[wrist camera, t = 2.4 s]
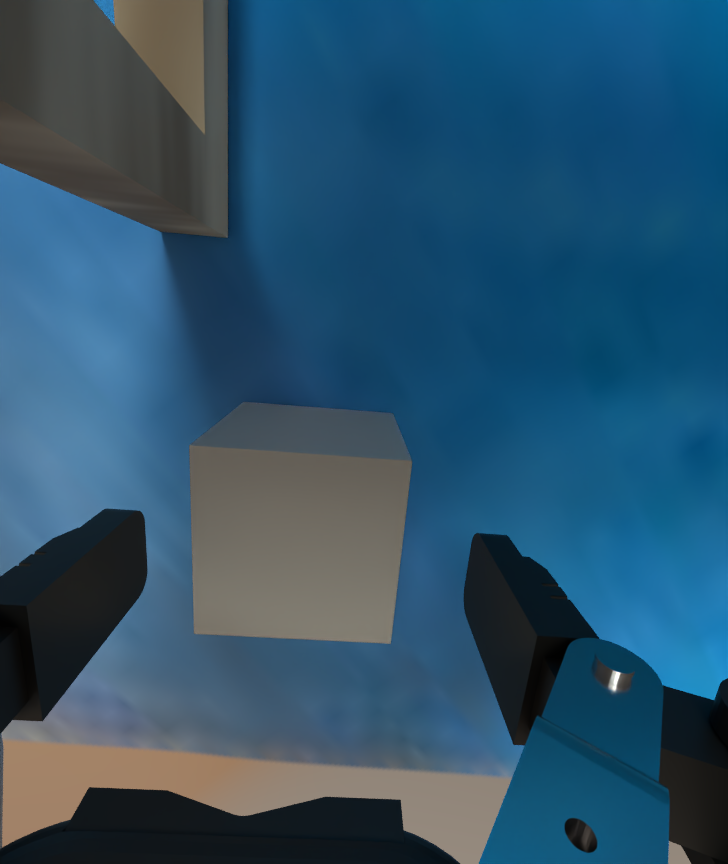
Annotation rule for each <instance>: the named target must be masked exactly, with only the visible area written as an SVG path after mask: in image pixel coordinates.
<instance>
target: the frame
mask: <svg viewBox="0 0 728 864" xmlns="http://www.w3.org/2000/svg"><path fill="white" fill-rule="evenodd" d="M113 1H114V18H115V26H114V25H113V23H112V22H111V21H110V20H109V19H108V17H107V16H106V15H105V14H104V13H103V11H102V10H101V9H100V8H99V7H98V5H97V4H96V3H95V2H94V0H0V163H1V164H4V165H6V166H8V167H11V168H13V169H15V170H18V171H20V172H22V173H25V174H27V175H29V176H32V177H34V178H36V179H39V180H41V181H43V182H46V183H48V184H50V185H53V186H55V187H57V188H60V189H62V190H64V191H67V192H69V193H71V194H74V195H76V196H78V197H81V198H83V199H85V200H88V201H90V202H92V203H95V204H97V205H99V206H102V207H104V208H106V209H109V210H111V211H113V212H116V213H118V214H120V215H123V216H125V217H127V218H130V219H132V220H134V221H137V222H139V223H141V224H144V225H146V226H148V227H151V228H153V229H155V230H158V231H160V232H170V233H181V234H192V235H202V236H213V237H224V238H228V0H113Z"/></svg>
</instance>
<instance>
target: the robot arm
mask: <svg viewBox="0 0 728 864" xmlns="http://www.w3.org/2000/svg"><path fill="white" fill-rule="evenodd" d="M146 578H147V553H146V535H145V520H144V516H143V514H142V512H141V511H136V510H120V509H104V510H102V511H101V512H100V513H98V514H97V515H96V516H94V517H93V518H92V519H91V520H89V521H88V522H87V523H85V524H84V525H83V526H81V527H80V528H76V529H74V530H72V531H69V532H67V533H65V534H62V535H60V536H58V537H55V538H53V539H52V540H50V541H49V542H48V543H46V544H45V545H43V546H42V547H41V548H39V549H38V550H37V551H35V554H31V555H30V556H28V557H27V558H26V559H24V560H23V561H21V562H20V563H19V566H15V567H13V568H12V569H10V570H9V571H8V572H6V573H5V574H4V575H2V576H1V577H0V864H460V863H459V862H458V861H456V860H455V859H454V858H453V857H452V856H450V855H449V854H448V853H446V852H444V851H443V850H442V849H440V848H439V847H437V846H436V845H434V844H432V843H430V842H429V841H427V840H424V839H423V838H421V837H419V836H417V835H415V834H412V833H409V832H406V831H404V830H403V821H402V810H401V800H392V799H366V798H342V797H341V798H340V797H323V798H319V799H315V800H311V801H307V802H303V803H299V804H294V805H291V806H287V807H283V808H278V809H274V810H270V811H266V812H262V813H258V814H254V815H249V816H237V815H233V814H231V813H228V812H225V811H222V810H220V809H217V808H214V807H211V806H209V805H206V804H203V803H200V802H197V801H195V800H192V799H189V798H186V797H183V796H181V795H178V794H175V793H173V792H169V791H165V790H142V789H116V788H91V787H90V788H89V789H88V790H87V792H86V794H85V796H84V797H83V799H82V801H81V803H80V805H79V806H78V808H77V810H76V811H75V813H74V815H73V817H72V818H71V820H68V821H64V822H61V823H58V824H55V825H52V826H49V827H46V828H43V829H40V830H38V831H36V832H33V833H31V834H29V835H27V836H24V837H22V838H20V839H18V840H16V841H14V842H12V843H10V844H8V845H6V846H4V847H3V848H2V802H3V798H2V797H3V741H2V735H1V732H2V731H3V730H4V729H5V728H6V727H7V725H8V724H9V723H10V722H11V721H12V720H27V721H43V720H44V719H45V717H46V716H47V715H48V714H49V712H50V711H51V710H52V708H53V707H54V706H55V705H56V703H57V702H58V701H59V699H60V698H61V697H62V696H63V694H64V693H65V692H66V690H67V689H68V688H69V687H70V685H71V684H72V683H73V681H74V680H75V679H76V678H77V676H78V675H79V674H80V672H81V671H82V670H83V669H84V667H85V666H86V665H87V663H88V662H89V661H90V660H91V658H92V657H93V656H94V654H95V653H96V652H97V651H98V649H99V648H100V647H101V645H102V644H103V643H104V642H105V640H106V639H107V638H108V636H109V635H110V634H111V633H112V631H113V630H114V629H115V627H116V626H117V625H118V624H119V622H120V621H121V620H122V618H123V617H124V616H125V615H126V613H127V612H128V611H129V609H130V608H131V607H132V606H133V604H134V603H135V602H136V600H137V599H138V598H139V596H140V595H141V593H142V591H143V589H144V586H145V582H146ZM464 609H465V614H466V617H467V620H468V623H469V626H470V628H471V631H472V634H473V636H474V639H475V642H476V644H477V647H478V650H479V653H480V655H481V658H482V661H483V663H484V666H485V669H486V671H487V674H488V677H489V680H490V682H491V685H492V688H493V690H494V693H495V696H496V698H497V701H498V704H499V707H500V709H501V712H502V715H503V717H504V720H505V723H506V725H507V728H508V731H509V734H510V736H511V739H512V742H513V744H514V745H525V747H524V749H523V752H522V754H521V757H520V759H519V762H518V764H517V767H516V770H515V772H514V775H513V777H512V780H511V782H510V785H509V788H508V790H507V793H506V795H505V798H504V800H503V803H502V805H501V808H500V810H499V814H498V816H497V818H496V821H495V823H494V826H493V828H492V831H491V833H490V836H489V838H488V841H487V844H486V846H485V849H484V851H483V854H482V857H481V859H480V862H479V864H668V846H669V844H668V843H669V841H671V842H673V843H676V844H679V845H681V846H682V848H683V849H684V851H685V853H686V855H687V856H688V858H689V860H690V862H691V864H728V679H725V680H723V681H722V682H721V683H720V686H719V689H718V691H717V694H716V697H715V700H711V699H708V698H704V697H701V696H697V695H694V694H690V693H687V692H683V691H680V690H676V689H673V688H669V687H666V686H663V685H662V682H661V680H660V678H659V677H658V675H657V674H656V672H655V671H654V670H653V669H652V668H651V667H650V666H649V665H648V664H647V663H646V662H645V661H644V660H642V659H641V658H640V657H638V656H637V655H636V654H634V653H633V652H631V651H629V650H627V649H626V648H624V647H621V646H619V645H617V644H614V643H612V642H609V641H606V640H602V639H599V637H598V636H597V635H596V633H595V632H594V631H593V629H592V628H591V627H590V625H589V624H588V623H587V622H586V620H585V619H584V618H583V616H582V615H581V614H580V612H579V611H578V610H577V608H576V607H575V606H574V604H573V603H572V602H571V601H570V600H568V599H567V595H566V594H565V593H564V591H563V590H562V589H561V587H558V583H557V582H556V581H555V580H554V578H553V577H552V576H551V574H550V573H549V572H548V570H547V569H545V568H544V567H543V566H541V565H540V564H538V563H537V562H536V561H534V560H533V559H531V558H530V557H522V555H521V554H520V552H519V551H518V550H517V548H516V547H515V545H514V544H513V542H512V541H511V540H510V538H509V537H508V536H507V535H496V534H480V533H476V534H475V535H474V537H473V539H472V543H471V549H470V556H469V562H468V568H467V574H466V581H465V587H464Z"/></svg>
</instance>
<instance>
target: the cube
mask: <svg viewBox="0 0 728 864" xmlns="http://www.w3.org/2000/svg"><path fill="white" fill-rule="evenodd" d="M189 452H190V491H191V530H192V570H193V609H194V634H207V635H227V636H247V637H267V638H287V639H307V640H327V641H347V642H367V643H387V644H391V636H392V628H393V619H394V611H395V603H396V594H397V586H398V577H399V569H400V560H401V552H402V544H403V535H404V527H405V518H406V510H407V501H408V493H409V485H410V476H411V468H412V459H411V456H410V454H409V452H408V449H407V447H406V444H405V442H404V439H403V437H402V434H401V432H400V430H399V427H398V425H397V422H396V420H395V417H394V415H393V413H386V412H372V411H359V410H346V409H333V408H319V407H306V406H293V405H280V404H267V403H253V402H243V403H242V404H240V405H239V406H238V407H237V408H235V409H234V410H233V411H232V412H230V413H229V414H228V415H227V416H225V417H224V418H223V419H221V420H220V421H219V422H218V423H216V424H215V425H214V426H213V427H211V428H210V429H209V430H208V431H206V432H205V433H204V434H203V435H201V436H200V437H199V438H198V439H196V440H195V441H194V442H193V443H191V444H190V445H189Z"/></svg>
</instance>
